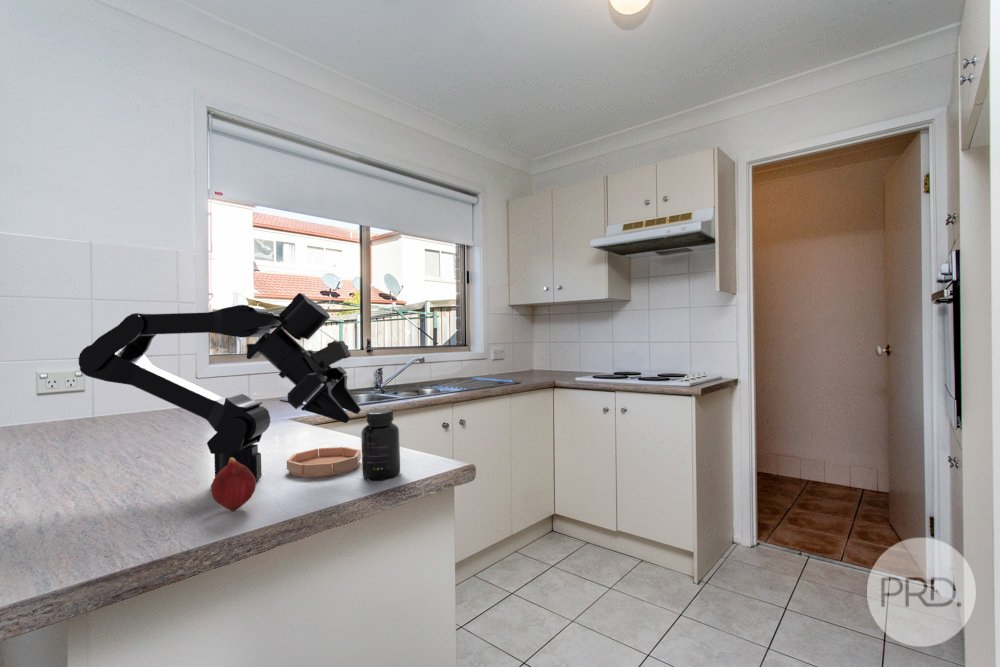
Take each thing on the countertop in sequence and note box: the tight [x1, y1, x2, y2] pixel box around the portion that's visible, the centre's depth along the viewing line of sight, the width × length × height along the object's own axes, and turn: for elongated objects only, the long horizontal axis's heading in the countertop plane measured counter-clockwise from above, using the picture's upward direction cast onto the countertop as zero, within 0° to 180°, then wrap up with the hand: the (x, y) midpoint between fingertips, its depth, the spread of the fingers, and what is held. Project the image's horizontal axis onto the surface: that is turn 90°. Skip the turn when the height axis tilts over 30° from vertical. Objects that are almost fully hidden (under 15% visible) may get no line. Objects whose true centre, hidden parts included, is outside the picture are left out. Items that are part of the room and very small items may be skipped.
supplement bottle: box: [360, 408, 401, 482], centre depth 88 cm, size 7×7×12 cm
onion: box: [210, 457, 257, 512], centre depth 72 cm, size 6×6×8 cm
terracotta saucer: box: [286, 446, 362, 479], centre depth 94 cm, size 13×13×2 cm
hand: (354, 416), depth 87 cm, fingers open, 9 cm apart
